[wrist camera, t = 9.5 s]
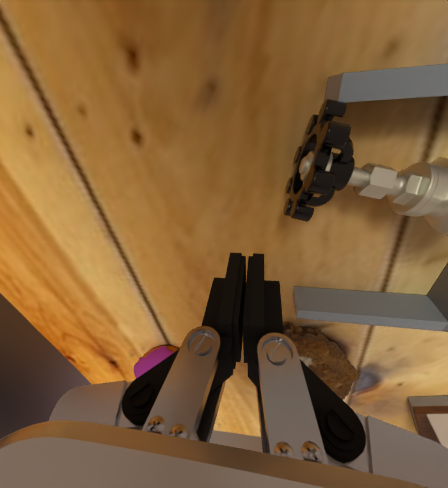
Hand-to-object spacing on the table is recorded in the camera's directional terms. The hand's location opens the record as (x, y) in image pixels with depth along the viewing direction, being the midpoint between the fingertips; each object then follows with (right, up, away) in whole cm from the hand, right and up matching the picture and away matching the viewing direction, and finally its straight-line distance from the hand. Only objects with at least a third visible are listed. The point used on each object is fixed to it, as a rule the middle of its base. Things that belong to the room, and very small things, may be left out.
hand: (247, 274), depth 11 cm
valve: (+10, +7, +4) cm, 13 cm away
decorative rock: (+10, -13, +18) cm, 25 cm away
